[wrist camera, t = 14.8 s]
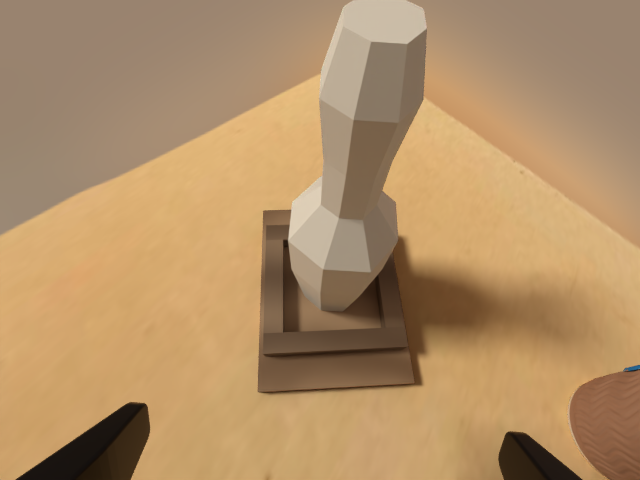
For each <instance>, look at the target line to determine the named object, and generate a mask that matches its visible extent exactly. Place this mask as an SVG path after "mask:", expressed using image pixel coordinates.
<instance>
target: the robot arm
mask: <svg viewBox="0 0 640 480" xmlns="http://www.w3.org/2000/svg"><path fill="white" fill-rule="evenodd" d="M149 433H150V422H149V414H148V407H147V405H146V404H145V403H137V402H130V403H127V404H125V405H124V406H122V407H121V408H120V409H118V410H117V411H115V412H114V413H112V414H111V415H109V416H108V417H106V418H105V419H103V420H102V421H101V422H99V423H98V424H96V425H95V426H93V427H92V428H90V429H89V430H87V431H86V432H84V433H83V434H81V435H80V436H79V437H77V438H76V439H74V440H73V441H71V442H70V443H68V444H67V445H65V446H64V447H62V448H61V449H60V450H58V451H57V452H55V453H54V454H52V455H51V456H49V457H48V458H46V459H45V460H43V461H42V462H41V463H39V464H38V465H36V466H35V467H33V468H32V469H30V470H29V471H27V472H26V473H24V474H23V475H22V476H20V477H19V478H17V479H16V480H131V477H132V475H133V473H134V470H135V468H136V466H137V463H138V461H139V459H140V456H141V454H142V452H143V449H144V447H145V444H146V442H147V440H148V437H149ZM498 459H499V466H500V469H501V472H502V475H503V478H504V480H582V479H581V478H580V477H579V476H577V475H576V474H575V473H574V472H573V471H571V470H570V469H569V468H568V467H567V466H565V465H564V464H563V463H562V462H560V461H559V460H558V459H557V458H556V457H554V456H553V455H552V454H551V453H549V452H548V451H547V450H546V449H545V448H543V447H542V446H541V445H540V444H538V443H537V442H536V441H535V440H534V439H532V438H531V437H530V436H529V435H527V434H526V433H523V432H511V431H510V432H507V433H506V435H505V437H504V440H503V443H502V446H501V449H500V452H499V458H498Z"/></svg>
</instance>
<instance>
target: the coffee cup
mask: <svg viewBox="0 0 640 480" xmlns="http://www.w3.org/2000/svg"><path fill="white" fill-rule="evenodd" d="M567 415H568V424H569V428H570V431H571V435H572V437H573V439H574V441H575V444H576V445H577V447H578V449H579V450H580V452H581V453H582V455H583V456H584V457H585V459H586V460H587V461H588V462H589V463H590V464H591V465H592V466H593V467H594V468H595V469H596V470H597V471H598V472H599V473H601V474H602V475H604V476H605V477H607V478H608V479H610V480H640V365H637V366H633V367H628V368H625V369H624V370H623V371H622V372H618V373H614V374H610V375H606V376H603V377H599V378H595V379H593V380H591V381H589V382H587V383H585V384H583V385H581V386H579V387H578V388H577V389H576V390H575V391H574V393H573V394H572V396H571V398H570V401H569V404H568V413H567Z"/></svg>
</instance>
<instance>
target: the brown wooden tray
mask: <svg viewBox="0 0 640 480" xmlns="http://www.w3.org/2000/svg"><path fill="white" fill-rule="evenodd" d="M290 218H291V210H268V211H263V239H262V271H261V303H260V335H259V367H258V392H275V391H292V390H310V389H328V388H346V387H364V386H381V385H399V384H413V383H415V382H414V376H413V370H412V364H411V358H410V352H409V346H408V340H407V334H406V328H405V322H404V316H403V310H402V304H401V299H400V293H399V287H398V281H397V275H396V269H395V263H394V257H393V251H392V253H391V254H390V256H389V258H388V260H387V262H386V263H385V265H384V267H383V269H382V270H381V271H380V272H379V274H378V275H377V276H376V277H375V278H374V280H373V281H372V282H371V283H370V284H369V285H368V287H367V288H366V289H365V290H364V291H363V293H362V294H361V295H360V296H359V297H358V298H357V299H356V300H355V301H354V302H353V303H352V304H350V305H349V306H348V307H347V308H346V309H345V310H344V311H343V312H339V311H322V310H320V309H319V308H318V307H316V306H315V305H314V304H313V303H312V302H311V301H310V300H308V299H307V298H306V297H305V296H304V294H303V292H302V290H301V288H300V285H299V283H298V281H297V279H296V277H295V275H294V273H293V271H292V269H291V261H290V253H289V244H288V237H289V228H290Z"/></svg>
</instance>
